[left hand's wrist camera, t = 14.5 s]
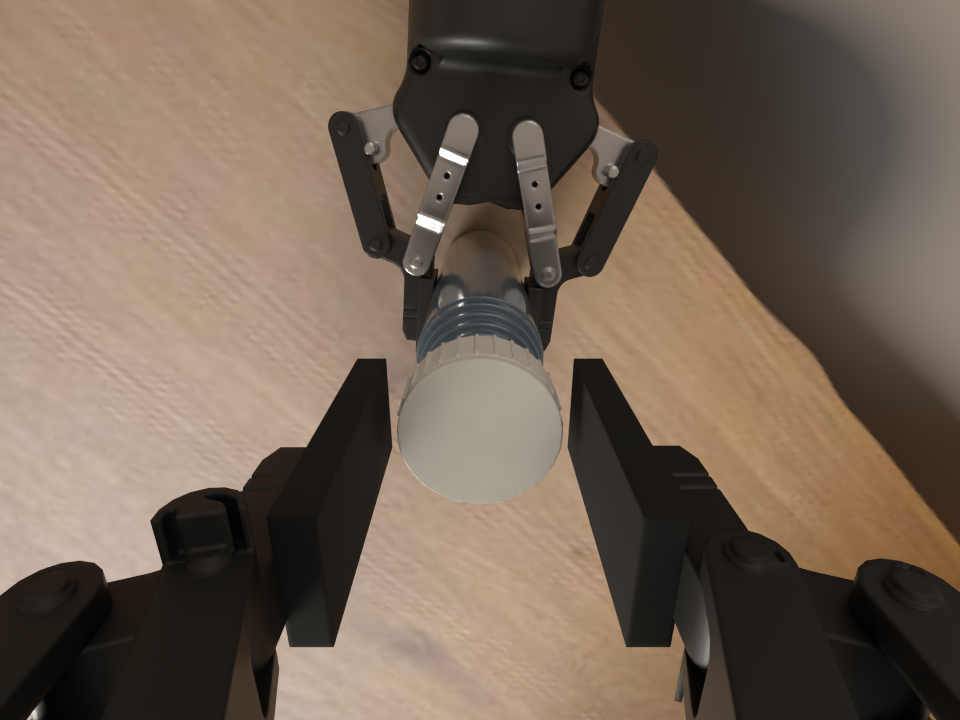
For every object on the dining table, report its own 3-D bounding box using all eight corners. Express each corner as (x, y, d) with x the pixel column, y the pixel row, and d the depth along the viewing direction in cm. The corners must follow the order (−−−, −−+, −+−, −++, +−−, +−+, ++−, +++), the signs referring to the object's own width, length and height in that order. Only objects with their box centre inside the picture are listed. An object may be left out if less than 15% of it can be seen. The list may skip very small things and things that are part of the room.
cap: (583, 421, 15) (596, 455, 13) (461, 492, 16) (459, 531, 14) (501, 302, 14) (504, 323, 12) (373, 386, 14) (360, 416, 13)
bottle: (529, 276, 31) (595, 447, 14) (470, 315, 32) (459, 523, 14) (489, 215, 30) (504, 315, 12) (429, 257, 31) (360, 408, 13)
